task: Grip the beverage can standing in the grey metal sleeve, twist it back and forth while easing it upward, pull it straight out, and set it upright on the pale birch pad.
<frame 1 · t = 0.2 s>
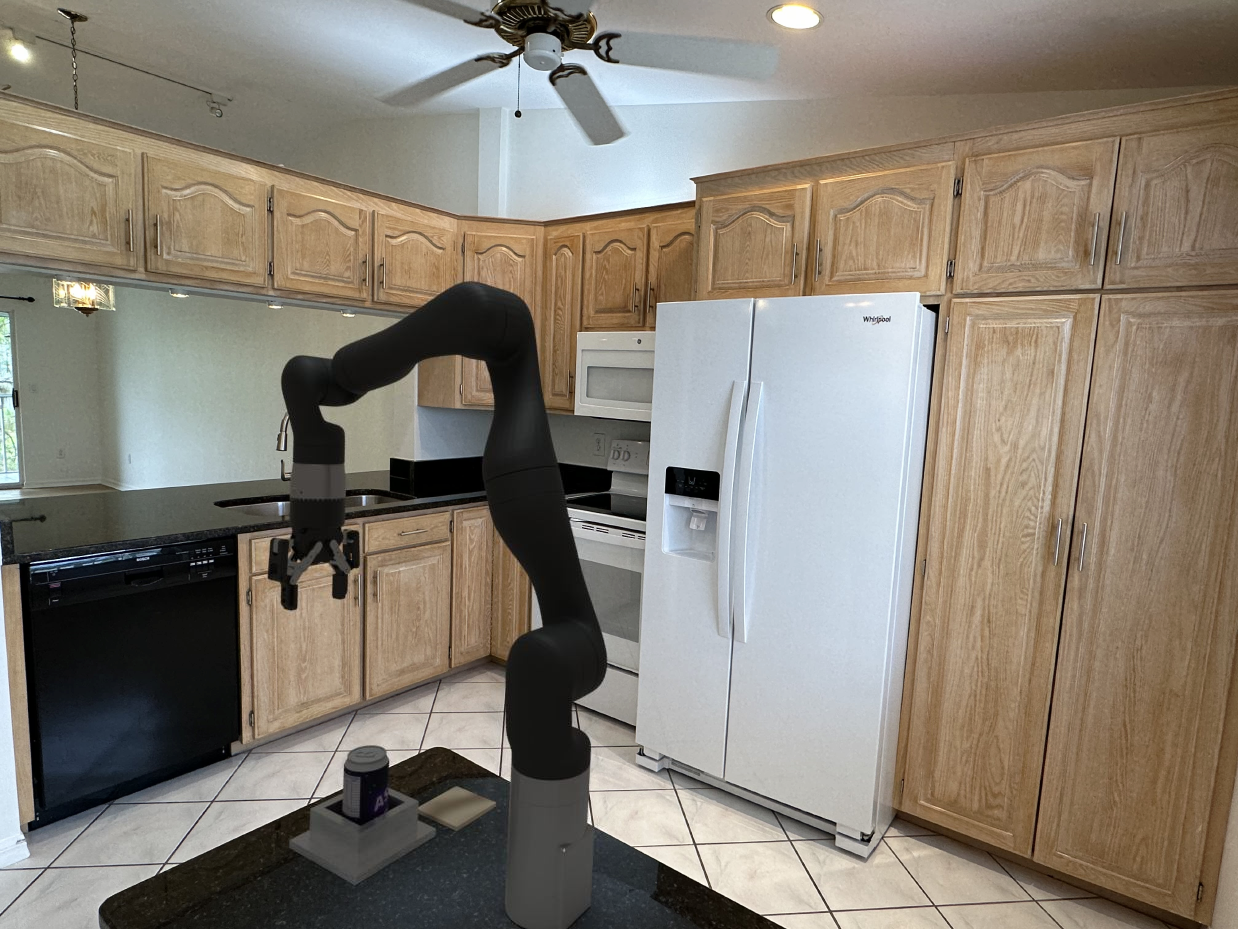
hand: (315, 604, 105), 28 cm above the countertop, tool pointing down, fingers open, 8 cm apart
sleeve: (364, 841, 94), on the countertop
beverage can: (364, 843, 94), resting in sleeve
birch pad: (456, 809, 103), on the countertop
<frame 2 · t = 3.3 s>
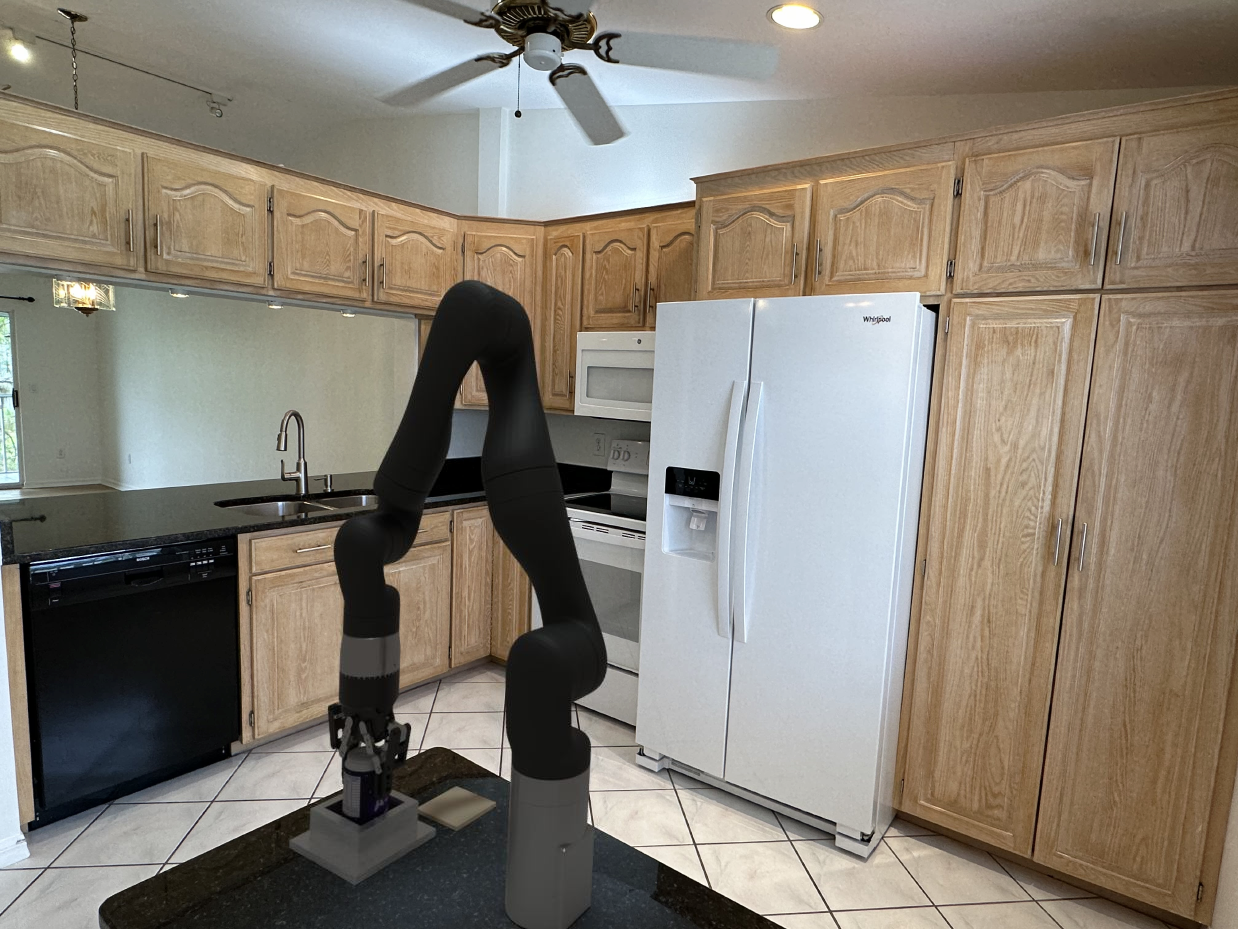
hand: (365, 789, 94), 7 cm above the countertop, tool pointing down, fingers closed on beverage can, 5 cm apart
beverage can: (364, 843, 94), resting in sleeve, touching gripper
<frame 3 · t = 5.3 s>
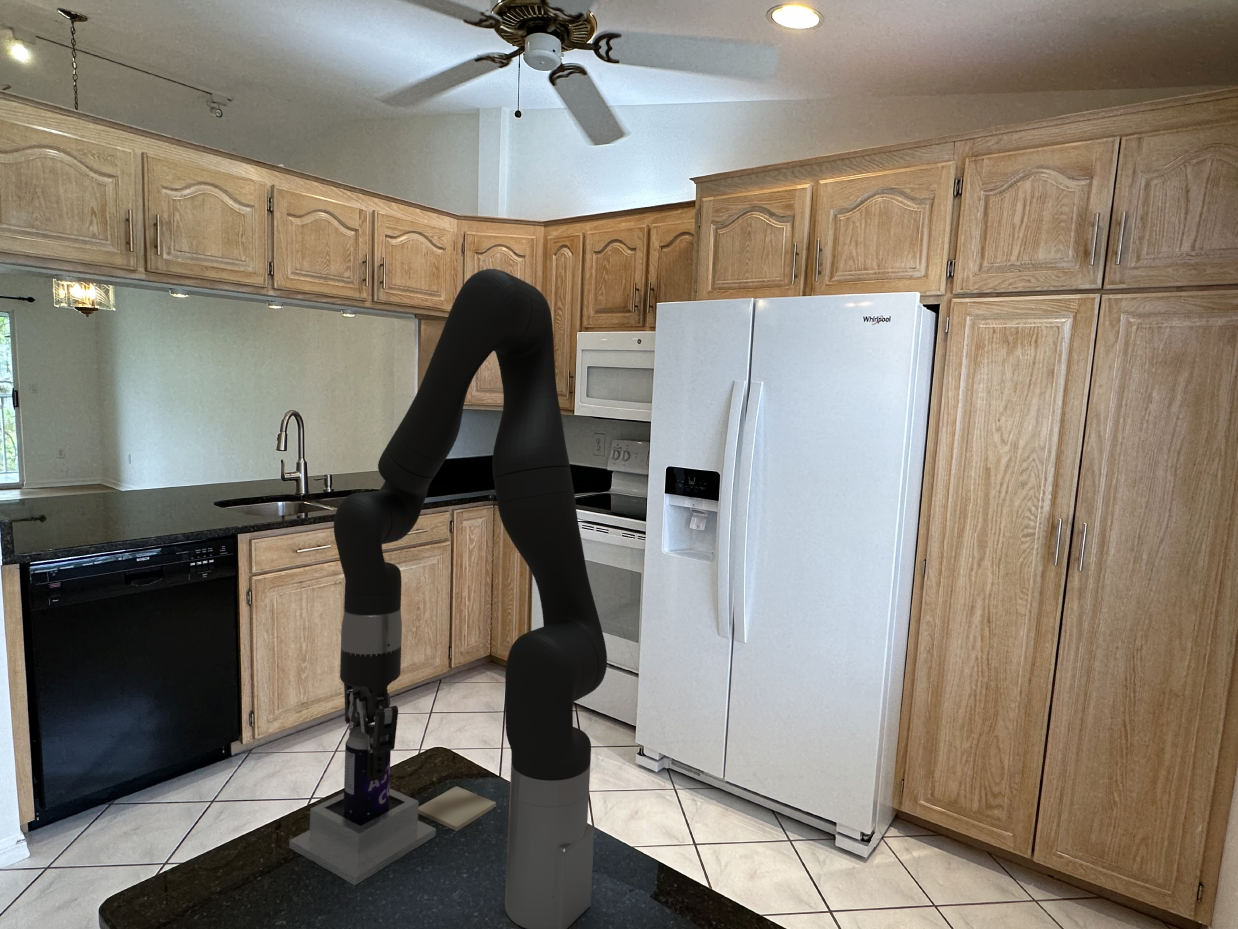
hand: (367, 768, 94), 10 cm above the countertop, tool pointing down, fingers closed on beverage can, 5 cm apart
beverage can: (365, 822, 94), point 3 cm above the countertop, touching gripper
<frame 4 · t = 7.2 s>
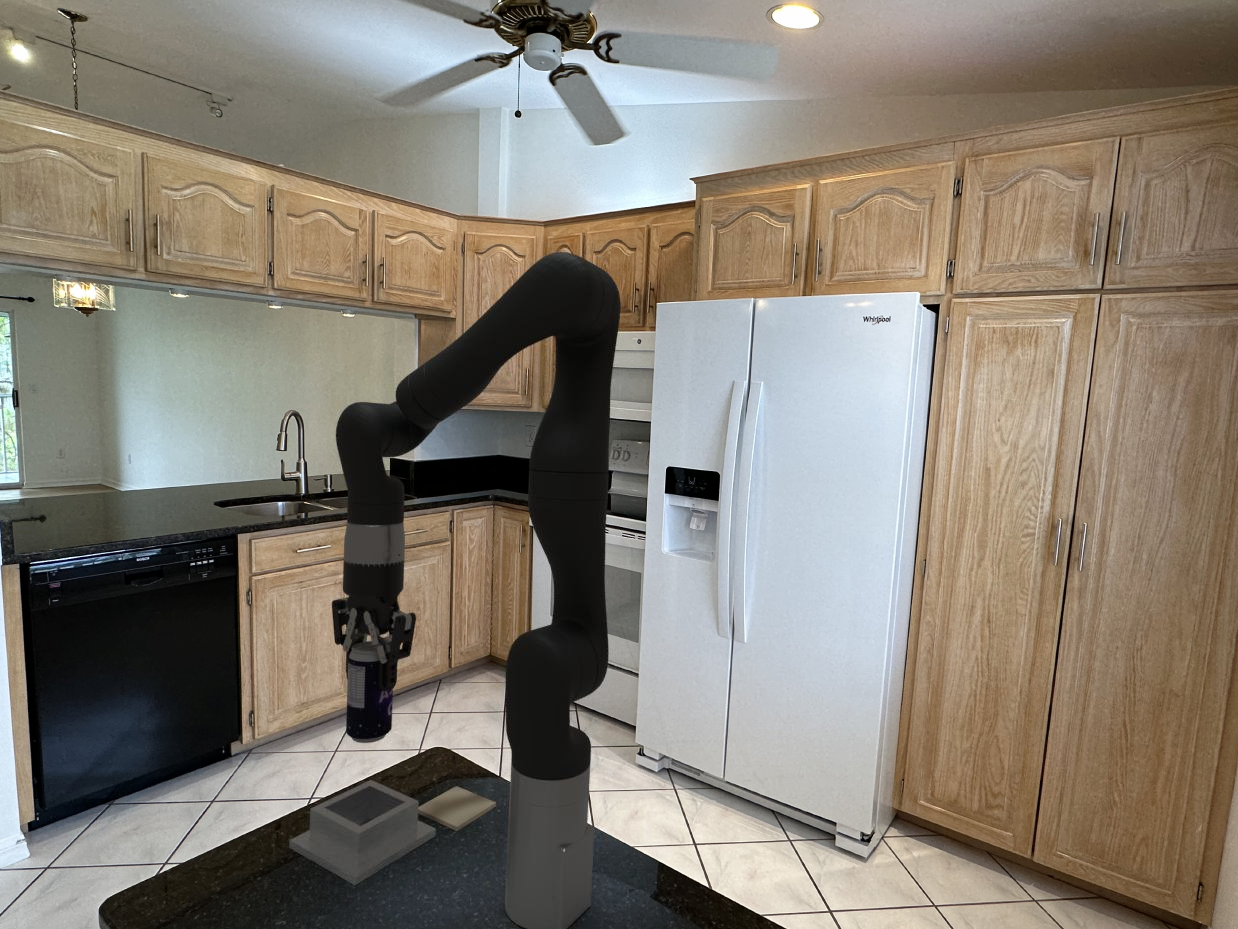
hand: (370, 683, 93), 21 cm above the countertop, tool pointing down, fingers closed on beverage can, 5 cm apart
beverage can: (368, 737, 93), point 14 cm above the countertop, touching gripper
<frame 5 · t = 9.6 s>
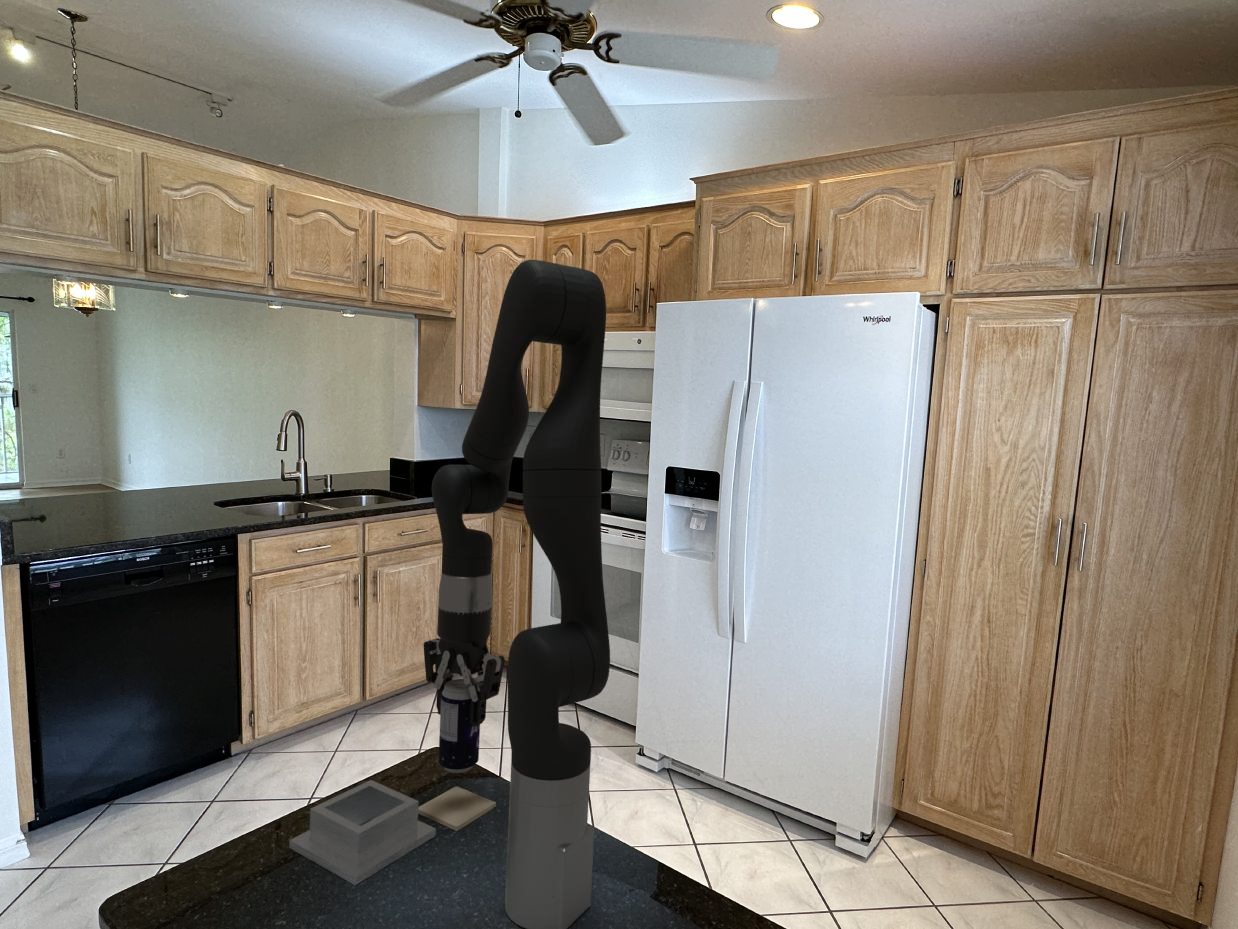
hand: (460, 718, 103), 14 cm above the countertop, tool pointing down, fingers closed on beverage can, 5 cm apart
beverage can: (458, 767, 103), point 6 cm above the countertop, touching gripper
when the fingers open (9 cm above the countertop, at t = 11.4 s): beverage can drops 1 cm, resting on birch pad.
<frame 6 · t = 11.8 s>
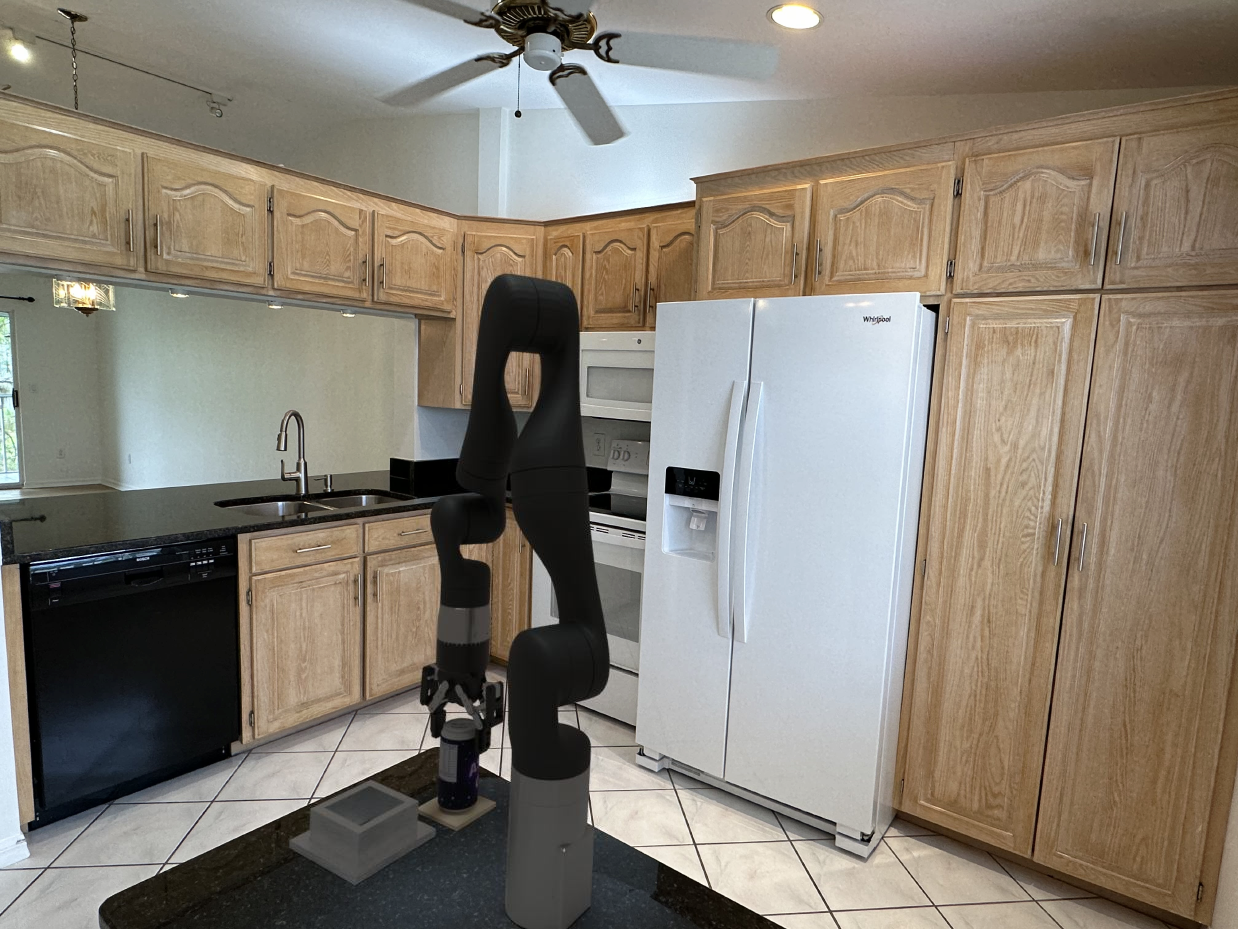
hand: (459, 744, 103), 10 cm above the countertop, tool pointing down, fingers open, 8 cm apart
beverage can: (457, 807, 103), resting on birch pad
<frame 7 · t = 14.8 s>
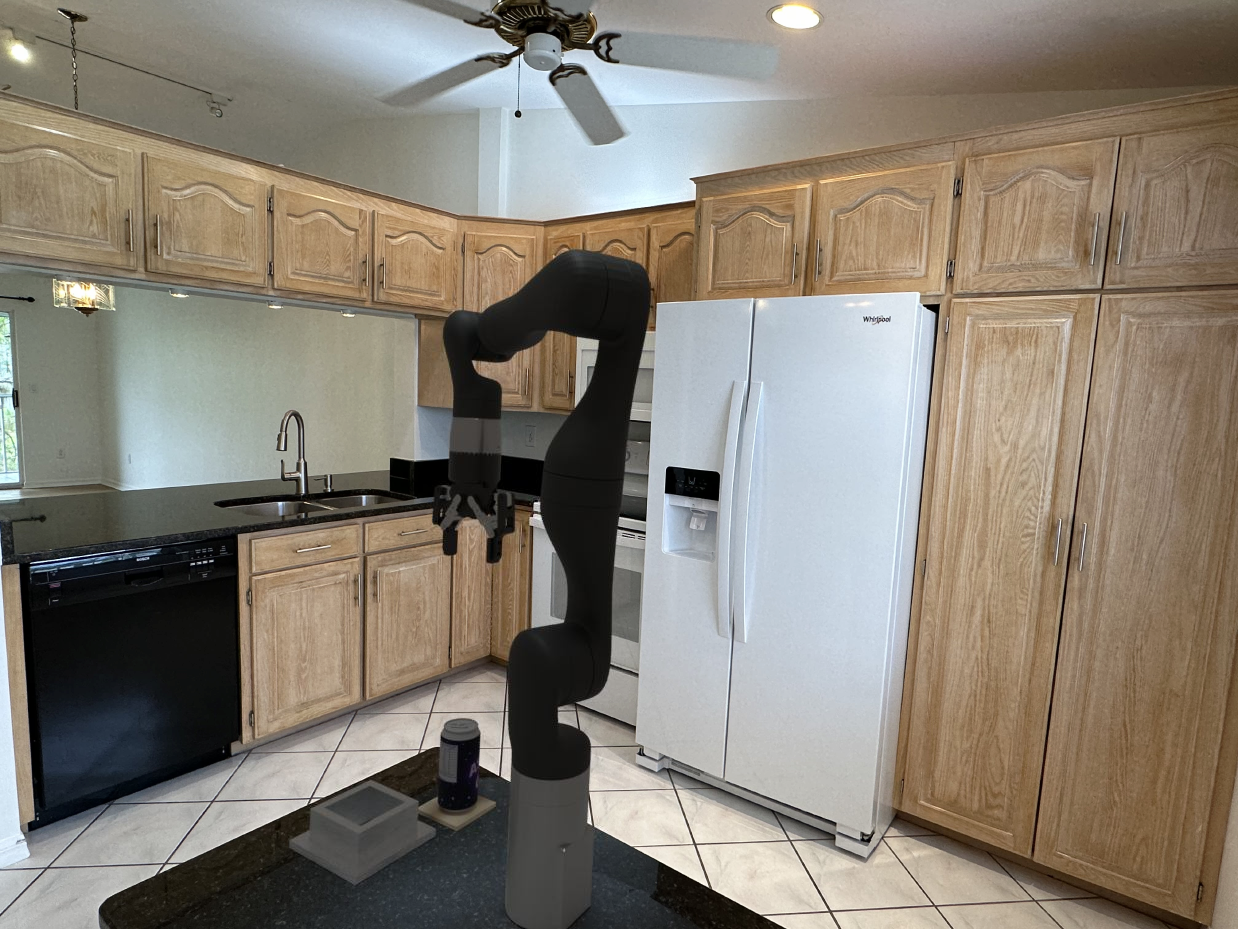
hand: (471, 558, 105), 36 cm above the countertop, tool pointing down, fingers open, 8 cm apart
nothing on the countertop moved.
at the end: beverage can 0.2 cm off-centre on the birch pad, point 0.4 cm above the birch pad's base; beverage can tilted 0°; the gripper is holding nothing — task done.
